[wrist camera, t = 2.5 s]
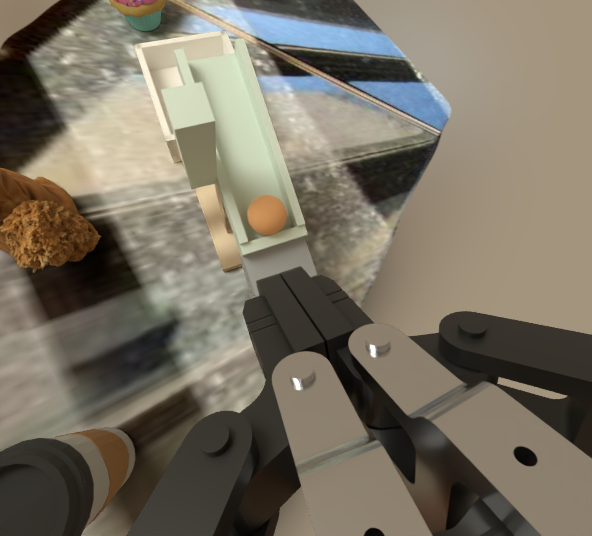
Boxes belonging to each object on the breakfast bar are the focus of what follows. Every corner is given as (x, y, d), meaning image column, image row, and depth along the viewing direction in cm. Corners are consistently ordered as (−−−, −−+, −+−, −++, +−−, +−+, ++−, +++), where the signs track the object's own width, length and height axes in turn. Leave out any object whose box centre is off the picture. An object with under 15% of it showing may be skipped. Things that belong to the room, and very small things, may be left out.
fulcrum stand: (296, 248, 45) (309, 210, 34) (223, 272, 42) (215, 239, 32) (265, 173, 48) (269, 117, 37) (196, 192, 45) (179, 138, 35)
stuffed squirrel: (42, 176, 43) (-42, 96, 31) (130, 234, 42) (81, 176, 30) (-22, 234, 40) (-145, 171, 28) (72, 298, 39) (-10, 263, 27)
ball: (240, 227, 32) (246, 232, 28) (249, 190, 31) (256, 190, 28) (276, 236, 33) (286, 241, 30) (285, 200, 32) (296, 201, 29)
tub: (262, 141, 49) (263, 119, 45) (174, 162, 46) (166, 141, 42) (227, 57, 53) (225, 30, 49) (143, 72, 50) (133, 44, 46)
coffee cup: (47, 447, 34) (-94, 499, 20) (126, 400, 37) (48, 417, 23) (81, 526, 33) (-47, 641, 19) (160, 471, 35) (100, 538, 21)
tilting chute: (314, 273, 37) (380, 264, 21) (230, 303, 34) (237, 316, 19) (247, 72, 36) (266, -81, 21) (157, 89, 34) (106, -68, 19)
